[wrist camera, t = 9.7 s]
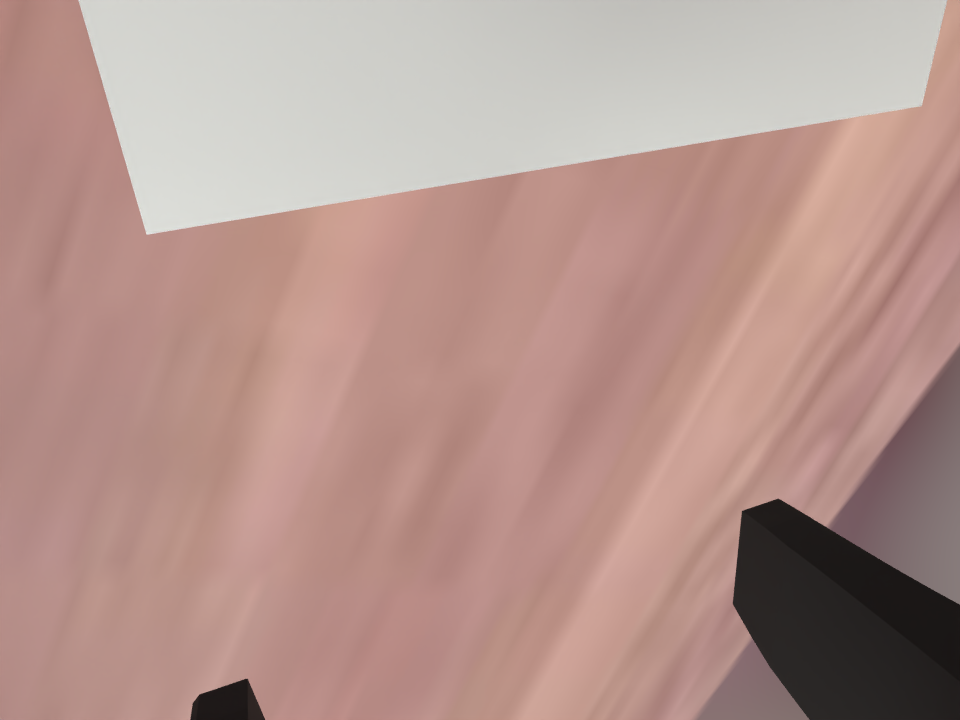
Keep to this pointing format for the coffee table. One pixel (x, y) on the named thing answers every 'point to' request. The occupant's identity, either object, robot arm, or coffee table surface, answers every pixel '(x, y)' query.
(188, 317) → the coffee table surface
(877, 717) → the robot arm
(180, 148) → the socket block
